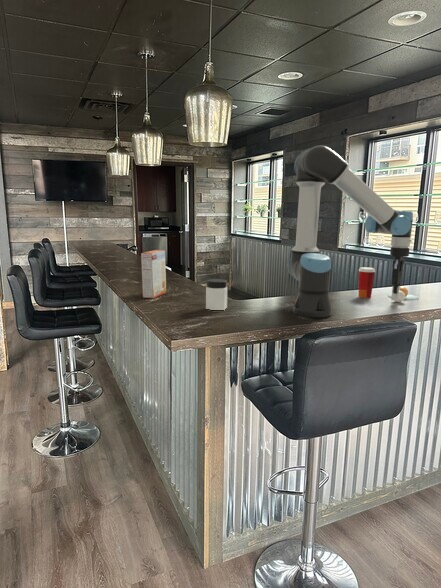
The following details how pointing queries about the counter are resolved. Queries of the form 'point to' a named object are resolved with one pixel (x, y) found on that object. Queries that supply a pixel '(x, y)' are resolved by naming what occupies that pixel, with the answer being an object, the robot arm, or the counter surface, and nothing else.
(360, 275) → the paper cup
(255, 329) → the counter surface
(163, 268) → the cracker box
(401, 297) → the cue ball
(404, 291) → the object ball
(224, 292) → the jar
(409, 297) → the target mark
